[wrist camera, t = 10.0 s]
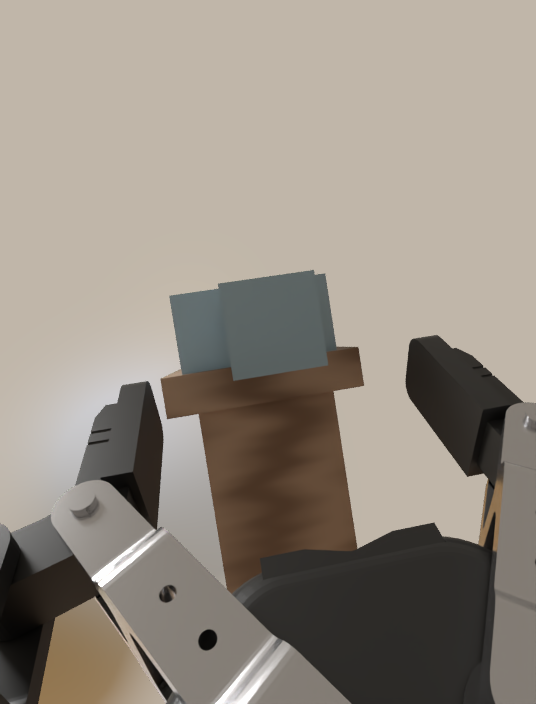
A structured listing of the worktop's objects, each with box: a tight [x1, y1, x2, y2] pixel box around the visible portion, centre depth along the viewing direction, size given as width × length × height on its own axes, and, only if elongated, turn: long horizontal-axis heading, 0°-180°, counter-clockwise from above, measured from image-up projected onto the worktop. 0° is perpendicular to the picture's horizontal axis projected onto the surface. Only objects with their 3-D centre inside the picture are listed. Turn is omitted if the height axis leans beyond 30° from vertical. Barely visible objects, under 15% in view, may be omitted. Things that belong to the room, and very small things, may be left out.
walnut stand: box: [161, 347, 364, 594], centre depth 25 cm, size 10×8×30 cm
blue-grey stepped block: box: [170, 270, 337, 381], centre depth 21 cm, size 8×16×4 cm, turn 6°
